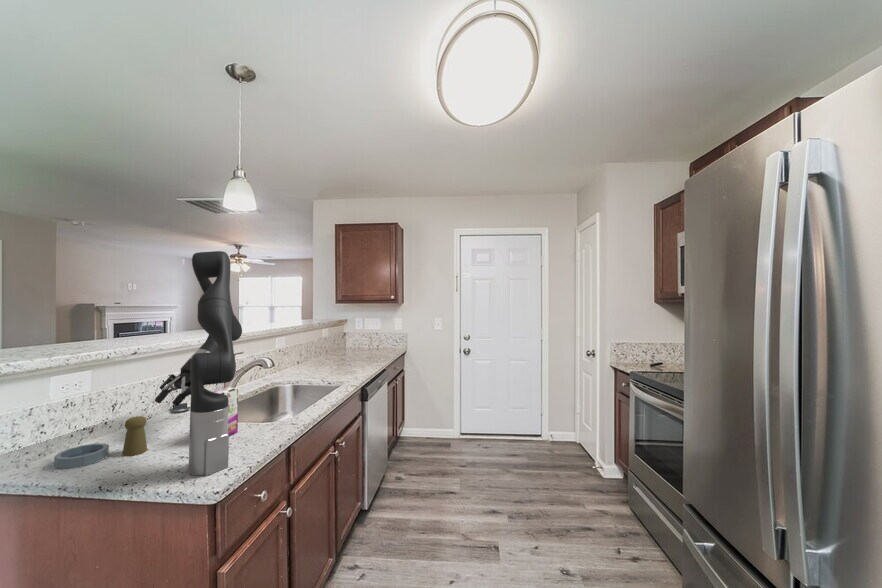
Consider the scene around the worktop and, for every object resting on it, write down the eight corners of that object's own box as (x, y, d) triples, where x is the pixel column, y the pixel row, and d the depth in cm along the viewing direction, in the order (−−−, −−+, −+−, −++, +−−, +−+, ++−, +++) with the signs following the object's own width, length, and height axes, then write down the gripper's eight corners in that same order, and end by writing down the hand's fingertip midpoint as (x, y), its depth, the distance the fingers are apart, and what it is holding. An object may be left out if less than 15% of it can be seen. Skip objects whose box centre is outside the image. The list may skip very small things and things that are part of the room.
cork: (132, 457, 107) (133, 421, 107) (116, 455, 108) (117, 419, 108) (152, 449, 112) (153, 415, 113) (137, 447, 114) (138, 413, 114)
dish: (114, 456, 107) (114, 447, 107) (63, 472, 97) (63, 462, 97) (98, 449, 112) (99, 440, 112) (48, 463, 102) (49, 453, 102)
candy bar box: (226, 431, 129) (227, 386, 129) (238, 432, 128) (239, 387, 128) (200, 443, 118) (201, 394, 118) (213, 444, 117) (215, 395, 117)
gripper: (178, 357, 130) (142, 395, 119) (206, 359, 125) (172, 399, 114) (191, 368, 135) (159, 406, 123) (219, 371, 130) (188, 411, 119)
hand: (165, 403), depth 119 cm, fingers open, 8 cm apart
